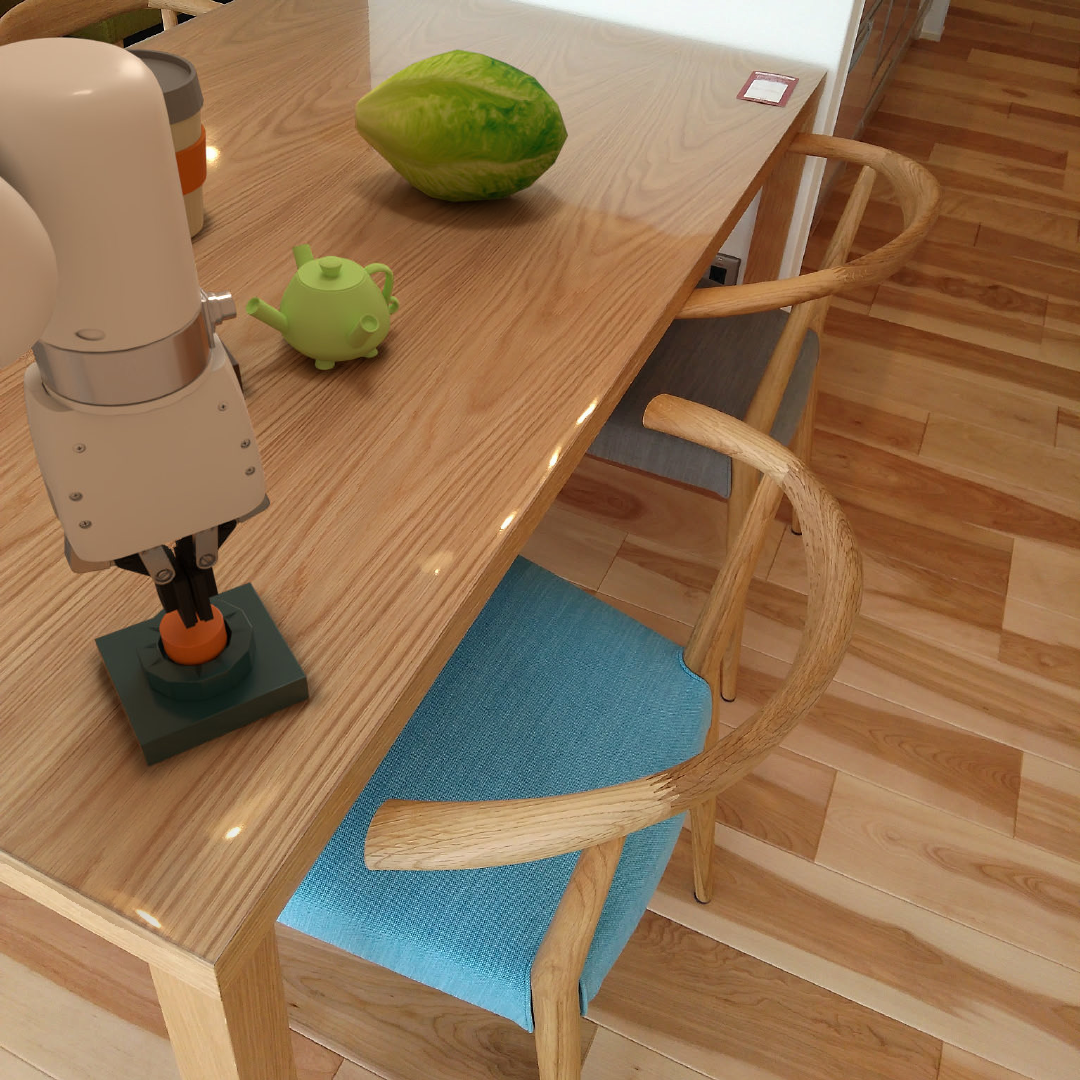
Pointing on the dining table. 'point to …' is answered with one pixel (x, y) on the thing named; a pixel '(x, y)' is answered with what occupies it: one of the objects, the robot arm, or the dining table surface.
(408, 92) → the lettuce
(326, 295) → the teapot
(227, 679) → the button housing
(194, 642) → the orange push button
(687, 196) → the dining table surface
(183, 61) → the reusable coffee cup
